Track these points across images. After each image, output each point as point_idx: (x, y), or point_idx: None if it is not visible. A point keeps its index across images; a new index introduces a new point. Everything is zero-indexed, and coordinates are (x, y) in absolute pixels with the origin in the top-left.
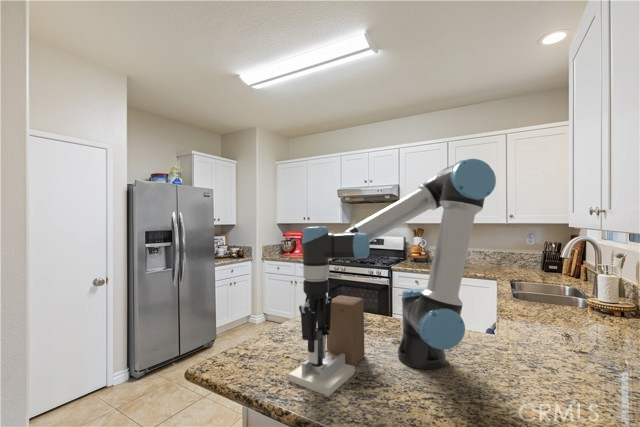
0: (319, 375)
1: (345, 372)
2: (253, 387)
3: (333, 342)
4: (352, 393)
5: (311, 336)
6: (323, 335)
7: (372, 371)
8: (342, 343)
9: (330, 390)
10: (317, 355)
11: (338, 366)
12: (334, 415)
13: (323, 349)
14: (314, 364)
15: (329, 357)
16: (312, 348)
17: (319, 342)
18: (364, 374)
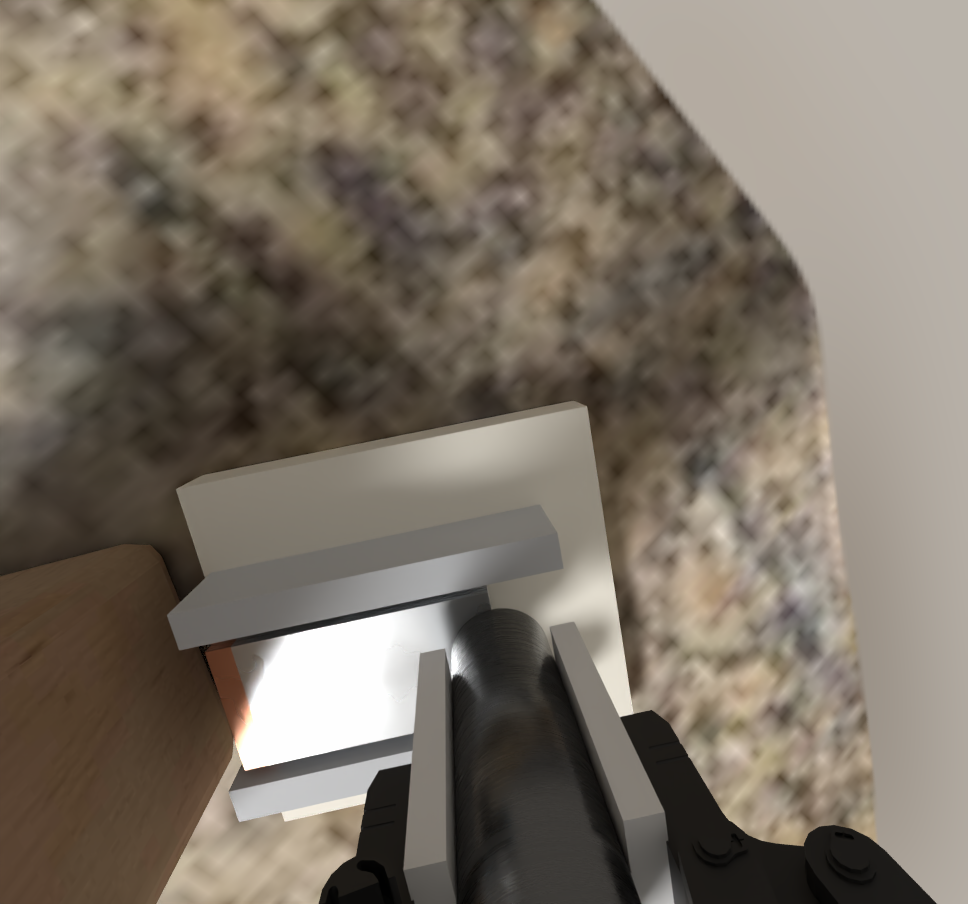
0: (501, 582)
1: (315, 476)
2: (803, 778)
3: (127, 831)
4: (428, 304)
5: (846, 900)
6: (418, 893)
7: (59, 392)
8: (70, 744)
9: (556, 407)
10: (570, 670)
11: (314, 559)
12: (697, 229)
13: (446, 717)
14: (550, 649)
15: (326, 674)
16: (669, 747)
17: (560, 784)
18: (152, 410)
